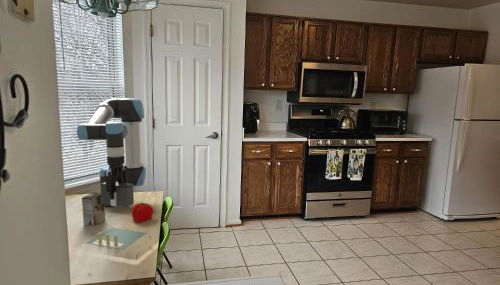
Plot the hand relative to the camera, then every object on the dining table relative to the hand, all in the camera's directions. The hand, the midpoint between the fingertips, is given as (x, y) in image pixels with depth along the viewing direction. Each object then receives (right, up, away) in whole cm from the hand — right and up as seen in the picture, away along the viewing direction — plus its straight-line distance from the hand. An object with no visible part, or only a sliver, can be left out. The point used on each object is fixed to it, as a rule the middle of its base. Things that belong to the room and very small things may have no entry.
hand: (117, 203), depth 157 cm
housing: (0, 0, 0) cm, 0 cm away
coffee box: (-19, -14, +17) cm, 29 cm away
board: (0, -18, -1) cm, 17 cm away
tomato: (+5, -14, +23) cm, 27 cm away
